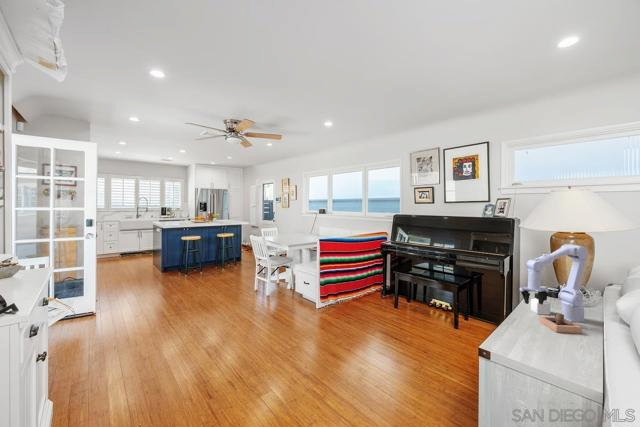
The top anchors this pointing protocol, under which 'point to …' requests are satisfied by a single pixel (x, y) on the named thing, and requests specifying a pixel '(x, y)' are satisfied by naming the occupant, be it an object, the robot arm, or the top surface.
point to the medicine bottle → (540, 306)
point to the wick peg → (559, 319)
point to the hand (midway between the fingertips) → (533, 303)
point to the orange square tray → (565, 328)
